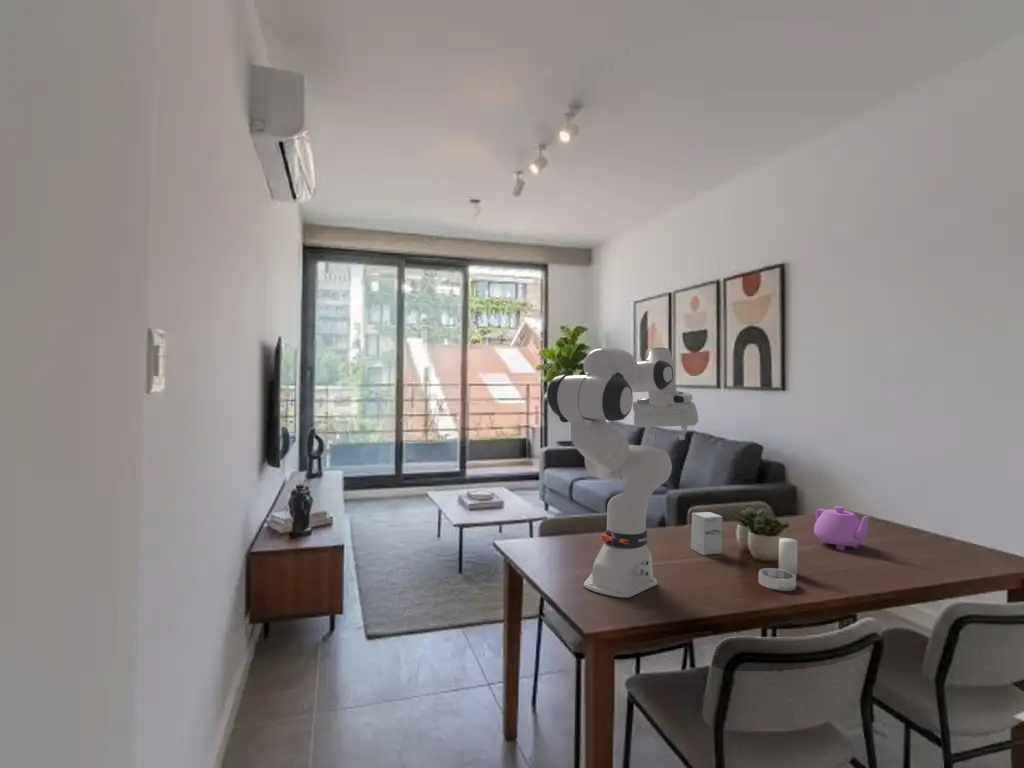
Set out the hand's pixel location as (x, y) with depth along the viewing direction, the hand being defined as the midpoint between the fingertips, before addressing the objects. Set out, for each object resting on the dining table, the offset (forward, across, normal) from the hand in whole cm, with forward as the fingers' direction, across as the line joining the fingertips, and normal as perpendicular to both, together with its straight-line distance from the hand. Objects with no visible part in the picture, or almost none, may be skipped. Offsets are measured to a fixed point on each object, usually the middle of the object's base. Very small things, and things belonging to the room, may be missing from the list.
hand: (667, 439), depth 178 cm
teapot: (+48, +44, +43) cm, 78 cm away
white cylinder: (+42, +31, +2) cm, 52 cm away
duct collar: (+40, +30, -10) cm, 51 cm away
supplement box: (+41, +6, +10) cm, 43 cm away
